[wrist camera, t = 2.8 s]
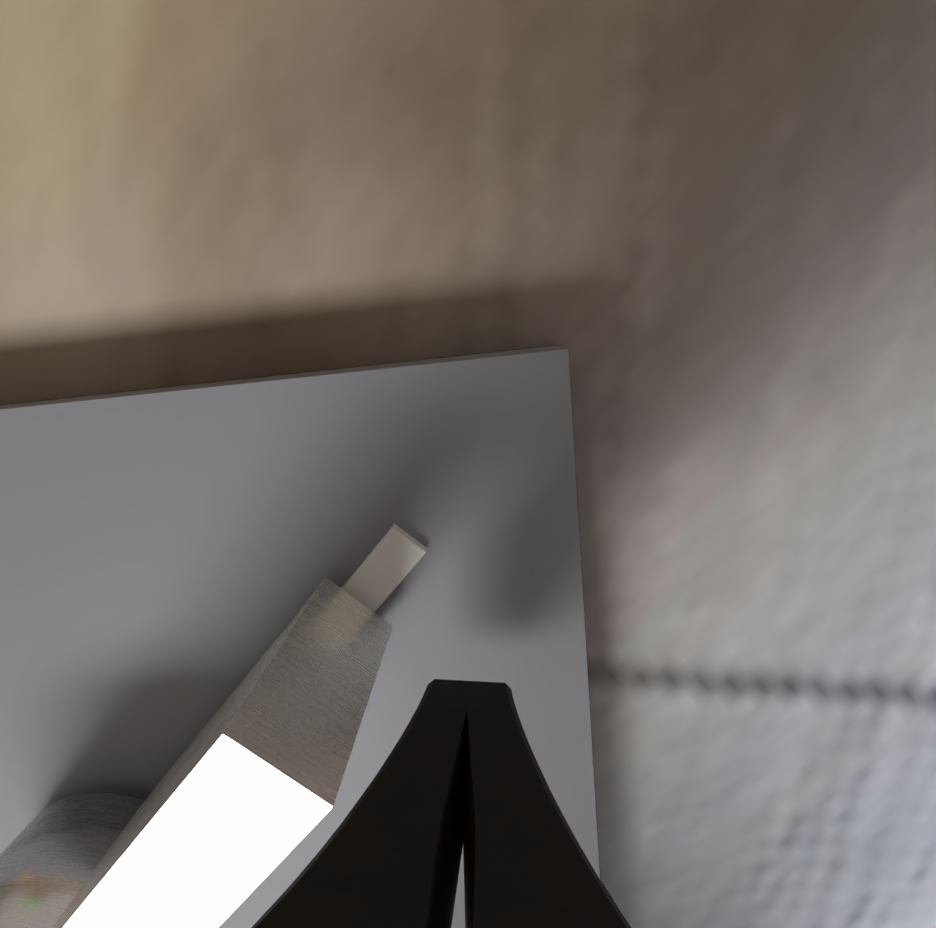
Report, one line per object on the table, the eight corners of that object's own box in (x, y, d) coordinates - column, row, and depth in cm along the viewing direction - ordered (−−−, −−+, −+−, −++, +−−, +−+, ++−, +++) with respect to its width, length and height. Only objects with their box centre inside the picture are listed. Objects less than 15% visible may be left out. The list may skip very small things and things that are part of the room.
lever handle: (162, 988, 13) (24, 1265, 10) (-16, 884, 13) (-244, 1136, 9) (461, 672, 11) (442, 879, 7) (253, 521, 10) (98, 650, 6)
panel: (605, 1082, 16) (618, 1167, 15) (-62, 1086, 18) (-118, 1164, 16) (558, 345, 11) (569, 349, 9) (-399, 447, 12) (-534, 466, 11)
